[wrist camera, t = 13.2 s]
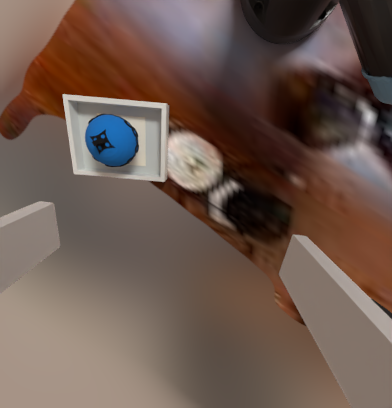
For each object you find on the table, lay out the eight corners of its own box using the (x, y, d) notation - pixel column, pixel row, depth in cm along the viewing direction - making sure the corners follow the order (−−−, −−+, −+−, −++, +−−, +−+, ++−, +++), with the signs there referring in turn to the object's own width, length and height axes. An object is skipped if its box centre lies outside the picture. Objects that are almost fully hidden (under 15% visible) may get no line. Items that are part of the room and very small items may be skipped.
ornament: (131, 108, 34) (105, 98, 25) (152, 154, 37) (135, 160, 27) (91, 127, 35) (52, 123, 26) (114, 169, 38) (86, 180, 28)
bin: (73, 97, 34) (62, 94, 31) (169, 106, 34) (166, 103, 31) (83, 171, 39) (73, 174, 36) (167, 178, 39) (164, 181, 36)
